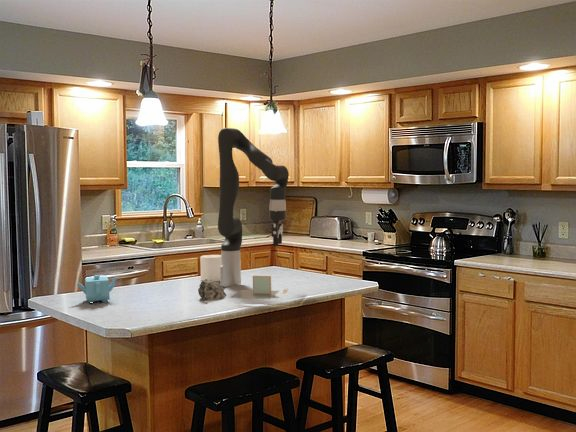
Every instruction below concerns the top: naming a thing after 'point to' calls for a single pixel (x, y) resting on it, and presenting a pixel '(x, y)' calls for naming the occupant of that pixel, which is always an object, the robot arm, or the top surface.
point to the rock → (211, 290)
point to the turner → (284, 290)
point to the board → (250, 294)
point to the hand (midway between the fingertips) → (277, 244)
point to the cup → (210, 267)
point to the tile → (261, 284)
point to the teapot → (97, 288)
